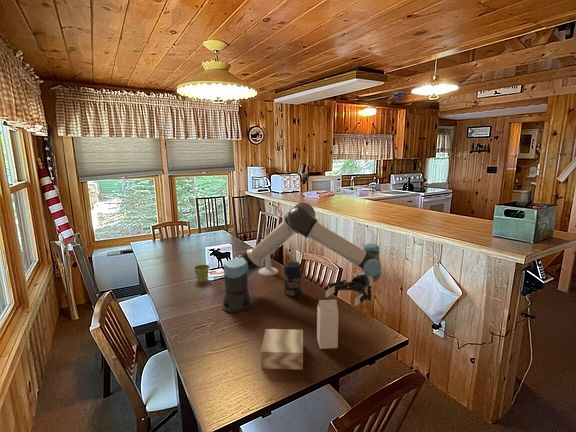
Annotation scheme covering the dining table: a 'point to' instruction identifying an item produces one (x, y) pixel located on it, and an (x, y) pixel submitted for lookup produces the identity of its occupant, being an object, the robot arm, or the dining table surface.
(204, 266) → the plant pot
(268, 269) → the candlestick
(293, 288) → the canister
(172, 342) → the dining table surface
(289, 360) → the block
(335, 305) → the milk carton
